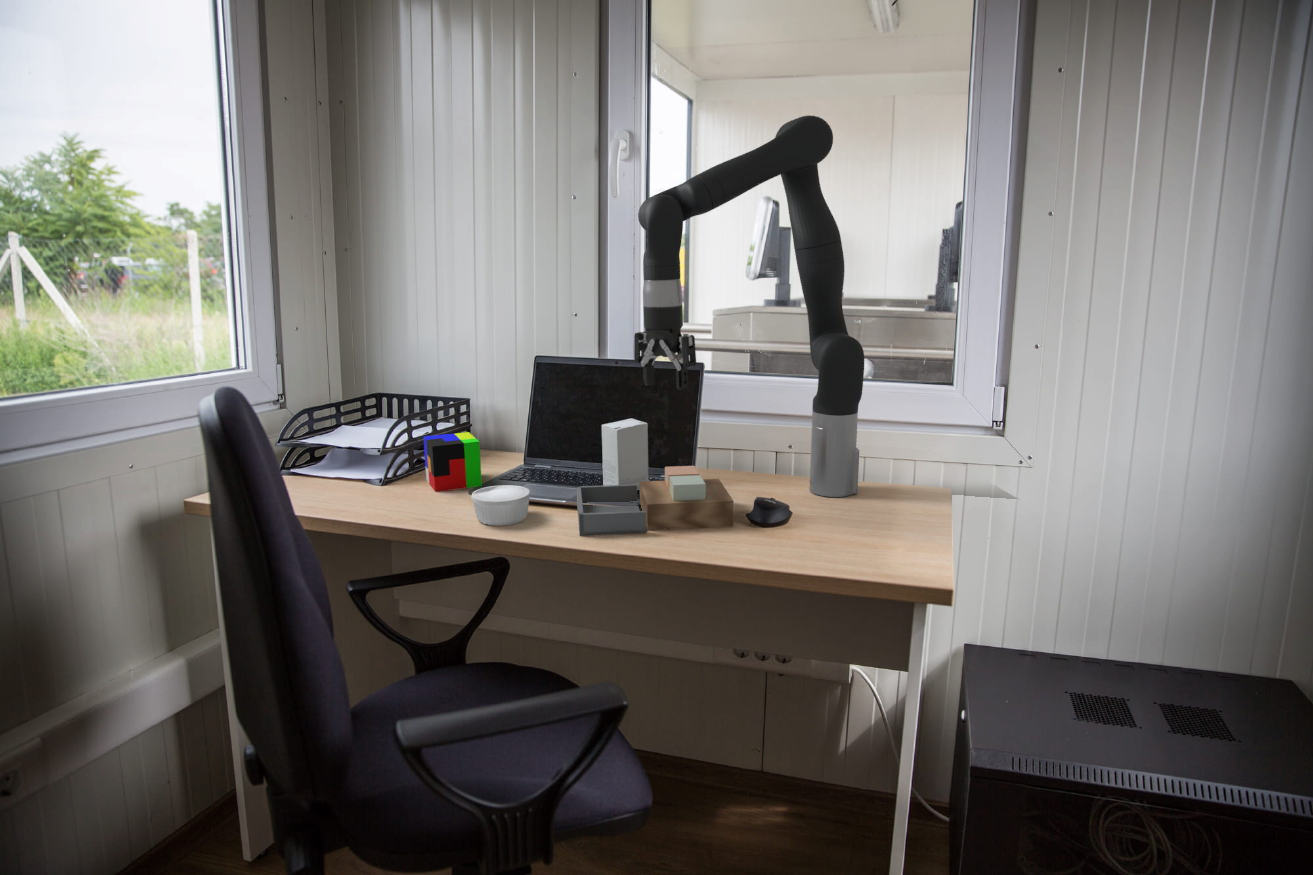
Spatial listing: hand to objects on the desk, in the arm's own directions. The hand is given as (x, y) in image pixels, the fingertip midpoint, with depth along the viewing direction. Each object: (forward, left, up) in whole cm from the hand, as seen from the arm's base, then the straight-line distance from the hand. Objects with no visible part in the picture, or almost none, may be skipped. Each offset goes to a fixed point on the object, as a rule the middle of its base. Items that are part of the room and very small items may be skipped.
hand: (665, 387), depth 171 cm
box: (+12, +8, -24) cm, 28 cm away
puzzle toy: (+44, -21, -24) cm, 55 cm away
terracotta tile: (-3, +4, -19) cm, 19 cm away
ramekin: (+32, +5, -24) cm, 41 cm away
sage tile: (-3, +11, -19) cm, 22 cm away
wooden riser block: (-3, +8, -24) cm, 25 cm away
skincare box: (+7, -10, -24) cm, 27 cm away
